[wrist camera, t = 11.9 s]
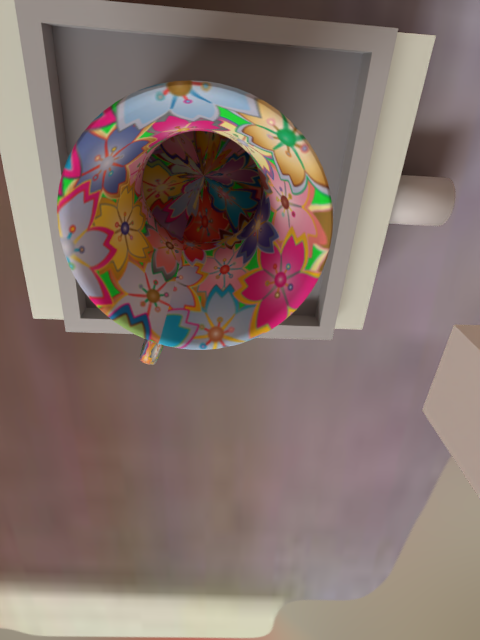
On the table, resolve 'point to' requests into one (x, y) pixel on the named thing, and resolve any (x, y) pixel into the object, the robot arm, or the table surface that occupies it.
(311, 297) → the open box
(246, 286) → the mug
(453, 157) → the table surface
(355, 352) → the table surface
